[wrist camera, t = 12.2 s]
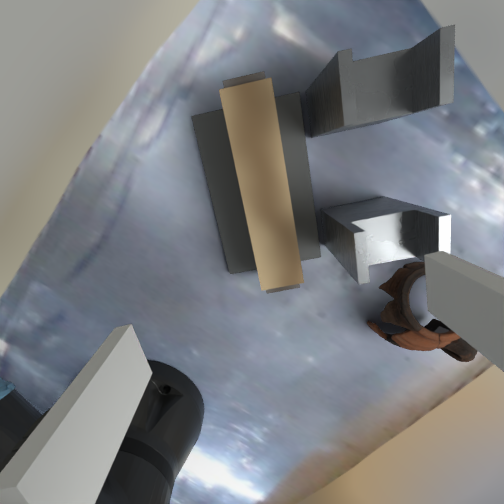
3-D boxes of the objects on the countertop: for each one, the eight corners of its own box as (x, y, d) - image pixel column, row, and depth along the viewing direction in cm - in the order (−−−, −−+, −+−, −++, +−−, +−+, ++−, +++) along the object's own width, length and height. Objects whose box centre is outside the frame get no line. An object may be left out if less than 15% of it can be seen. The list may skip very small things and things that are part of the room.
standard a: (324, 245, 30) (358, 284, 21) (320, 209, 29) (354, 233, 20) (386, 233, 30) (449, 268, 20) (384, 196, 29) (451, 214, 19)
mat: (230, 272, 31) (229, 274, 31) (192, 117, 26) (191, 116, 26) (319, 255, 31) (321, 257, 30) (298, 93, 26) (299, 91, 25)
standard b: (311, 137, 27) (344, 125, 17) (305, 91, 26) (337, 51, 16) (380, 123, 26) (453, 102, 17) (378, 75, 25) (454, 24, 16)
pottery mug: (340, 314, 34) (375, 315, 26) (380, 253, 36) (423, 235, 28) (425, 377, 33) (489, 398, 25) (461, 311, 35) (530, 310, 27)
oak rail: (261, 277, 31) (262, 296, 26) (222, 94, 25) (217, 80, 21) (297, 270, 31) (304, 288, 26) (266, 84, 25) (269, 68, 21)
